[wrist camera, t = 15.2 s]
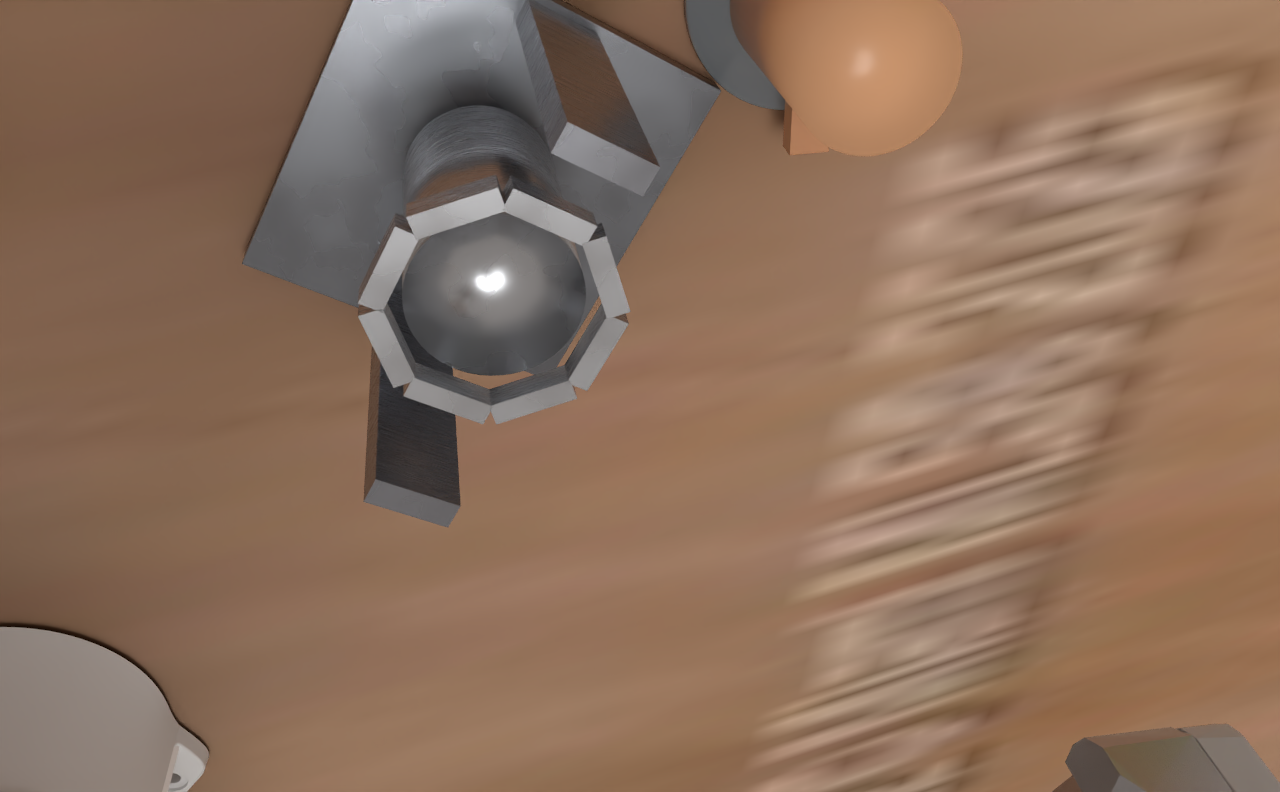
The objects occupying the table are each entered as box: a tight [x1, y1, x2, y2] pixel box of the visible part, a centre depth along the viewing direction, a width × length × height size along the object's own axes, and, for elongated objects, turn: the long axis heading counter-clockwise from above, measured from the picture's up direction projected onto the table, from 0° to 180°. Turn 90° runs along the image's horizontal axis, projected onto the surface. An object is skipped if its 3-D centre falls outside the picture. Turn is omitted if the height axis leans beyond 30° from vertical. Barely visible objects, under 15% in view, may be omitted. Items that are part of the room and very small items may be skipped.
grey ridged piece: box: [242, 0, 721, 527], centre depth 40 cm, size 15×14×14 cm
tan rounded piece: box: [730, 0, 963, 156], centre depth 40 cm, size 11×6×9 cm, turn 2°
